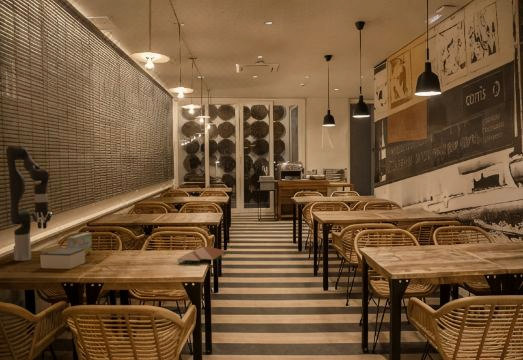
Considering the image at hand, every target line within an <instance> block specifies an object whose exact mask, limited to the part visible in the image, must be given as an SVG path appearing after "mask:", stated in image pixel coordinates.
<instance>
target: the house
mask: <svg viewBox="0 0 523 360" xmlns="http://www.w3.org/2000/svg"><path fill="white" fill-rule="evenodd" d="M226 252H227V250H224V249H219V248H215V247H211V246H210V247H209V246H201V247H199V248H195V249H194V250H191V251H190V252H188V253H186V254H184V255H182V256H180V257H178V258H177V259H176V260H177V261H178V263H183V265H191V262H193V263H192V264H193V265H194V264H195V265H196V264H197V265H200V264H201V263H202V262H205V260H206V261H207V262H208V261H209V260H210V261H212V262H214V261H216V260H217V261H219V260H220V258H224V256H226ZM176 260H175V261H176ZM184 261H185V262H184ZM199 263H200V264H199Z"/></svg>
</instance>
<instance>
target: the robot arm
mask: <svg viewBox="0 0 523 360" xmlns="http://www.w3.org/2000/svg"><path fill="white" fill-rule="evenodd" d="M5 155H6V157H5V158H6V163H7V170H8V180H9V181H8V182H9V183H8V184H9V185H8V186H9V194H10V195H9V196H10V221H11V223H12V224H13V225H20V226H19V227H18V228H17V229H15V230H14V232H13V234H14V246H13V259H14V261H15V262H24V261H29V260H31V259H32V246H31V226H32V225H31V219H33V221H34V222H36V223H37V228H38V229H39V230H40V229H43V230H45V229H47V227H48V225H47V223H48V222H50V221H51V219H52V216H53V213H52V212H49V209H48V208H49V199H48V198H49V197H48V189H47V188H48V182H49V179H50V172H49V170H48V169H47V168H40V166H39V165H38V164H37V162H35V161H34V160H33V158H32V157H31V155H30V154H29V152H28V151H27V149H26V148H25V147H24V146H22V145H21V146H20V145H8V146H7V147H6V149H5ZM16 161H23V167H24V170H25V171H27V172H28V173H29V176H30V179H31V181H36V182H38V181H40V182H39V183H38V184H35V185H34V187H33V188H34V189H33V190H34V199H33V200H34V209H35V210H34V211H33V212H31V213H30V211H29V209H26V208H25V209H19V204H20V202H21V200H22V198H23V195H25V192H26V179H25V177H24V176H23V175H22V173H21V172H20V170H18V168H17V166H16ZM31 217H32V218H31Z"/></svg>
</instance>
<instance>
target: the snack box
mask: <svg viewBox="0 0 523 360" xmlns="http://www.w3.org/2000/svg"><path fill="white" fill-rule="evenodd" d="M92 235H93V233H92V232H82V233H80V234H79V233H78V234H76V235H71V236H69V237H67V238H66V246H67V247H66V248H84V249H85V257H86V256H90V255H92V254H93V242H92V241H93V236H92Z"/></svg>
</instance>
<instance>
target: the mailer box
mask: <svg viewBox="0 0 523 360" xmlns="http://www.w3.org/2000/svg"><path fill="white" fill-rule="evenodd" d="M39 255H40V254H39ZM39 259H40V268H41V269H59V270H60V269H61V270H62V269H67V270H72V269H73V268H76V267H78V266H81V265H82V264H83V265H84V264H85V263H86V256H85V250H83V251H80V252H77V253H75V254H72V255H40V258H39Z"/></svg>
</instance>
